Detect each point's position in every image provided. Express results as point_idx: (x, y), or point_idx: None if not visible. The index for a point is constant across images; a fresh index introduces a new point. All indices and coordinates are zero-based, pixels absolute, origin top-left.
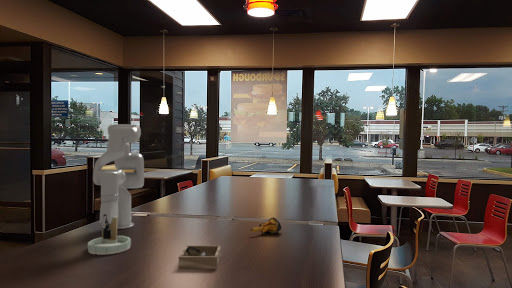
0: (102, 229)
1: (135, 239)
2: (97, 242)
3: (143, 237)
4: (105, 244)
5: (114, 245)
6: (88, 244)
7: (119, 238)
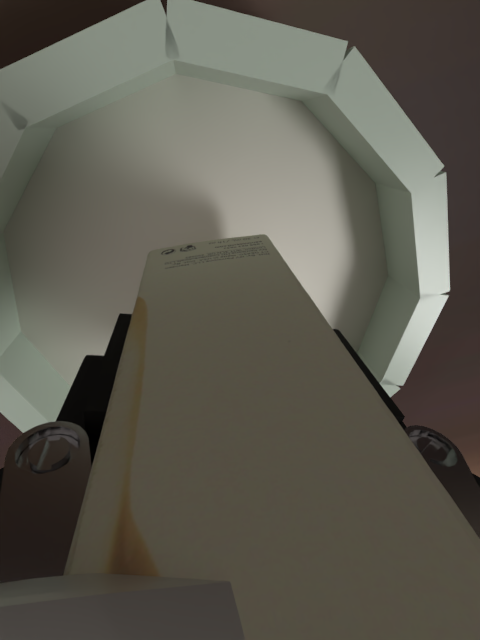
0: (114, 393)
1: (424, 405)
2: (334, 128)
3: (452, 436)
4: (286, 238)
5: (39, 423)
6: (34, 55)
7: (376, 356)
